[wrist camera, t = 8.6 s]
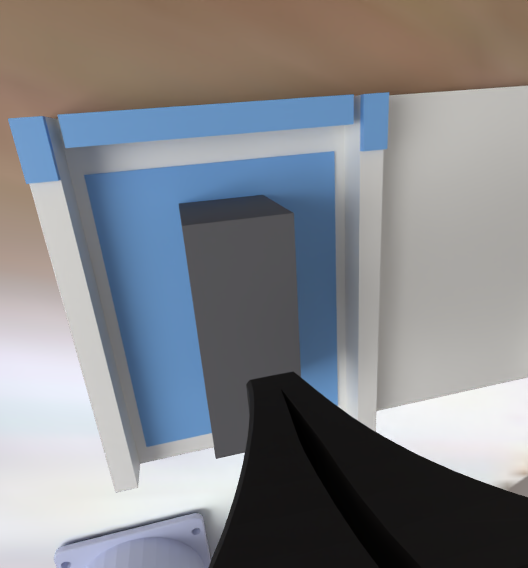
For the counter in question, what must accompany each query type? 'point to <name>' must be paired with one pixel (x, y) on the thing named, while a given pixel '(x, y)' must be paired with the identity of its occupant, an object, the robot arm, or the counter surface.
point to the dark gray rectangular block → (241, 303)
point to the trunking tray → (308, 245)
